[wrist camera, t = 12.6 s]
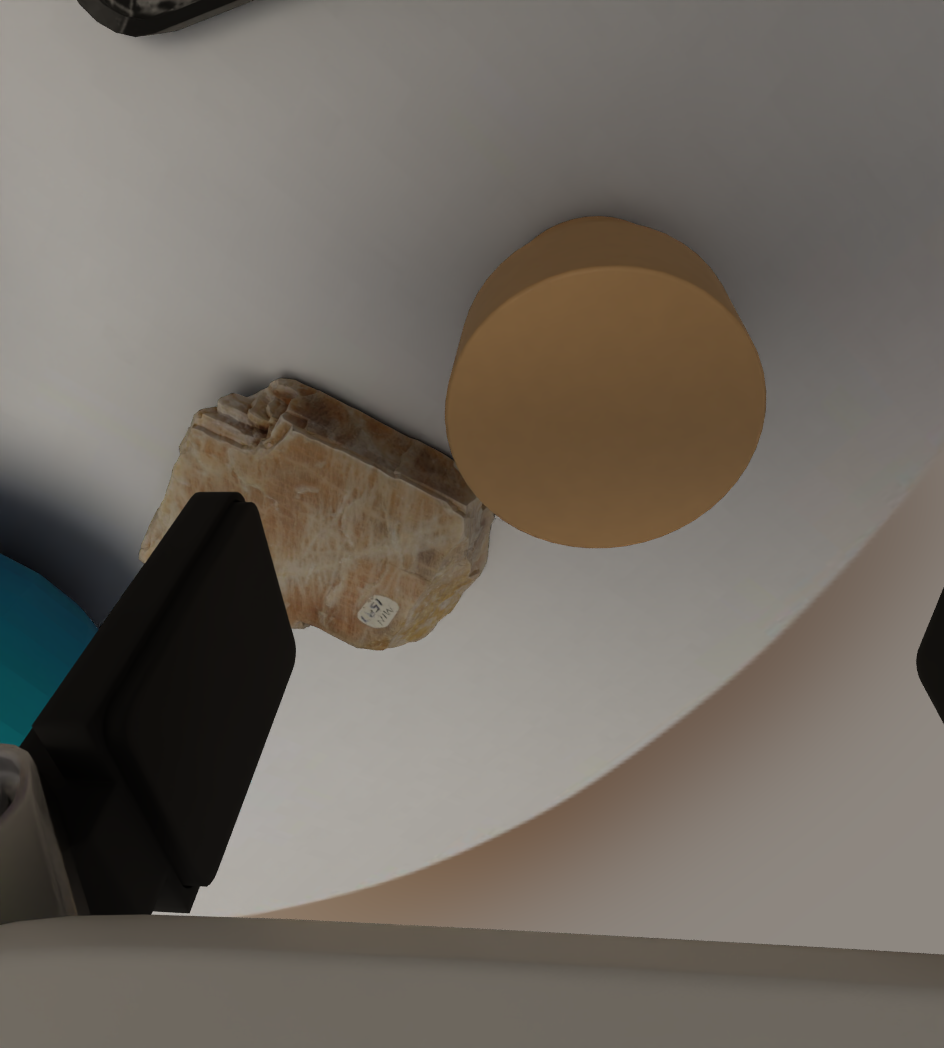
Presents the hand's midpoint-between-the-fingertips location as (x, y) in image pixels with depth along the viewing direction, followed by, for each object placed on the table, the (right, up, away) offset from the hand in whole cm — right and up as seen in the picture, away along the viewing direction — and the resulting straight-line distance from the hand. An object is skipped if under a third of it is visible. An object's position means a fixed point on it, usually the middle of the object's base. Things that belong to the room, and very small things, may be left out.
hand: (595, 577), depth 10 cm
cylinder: (+1, +6, +7) cm, 9 cm away
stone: (-6, +1, +12) cm, 13 cm away
